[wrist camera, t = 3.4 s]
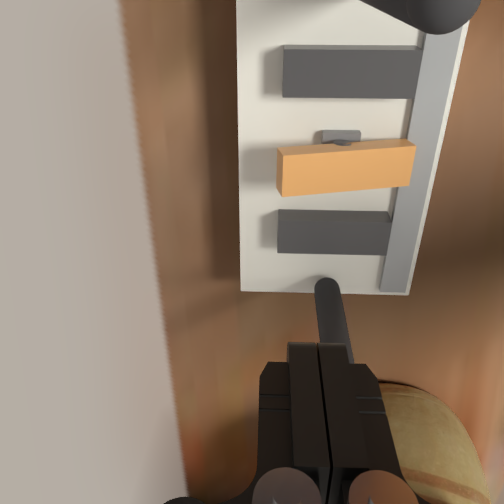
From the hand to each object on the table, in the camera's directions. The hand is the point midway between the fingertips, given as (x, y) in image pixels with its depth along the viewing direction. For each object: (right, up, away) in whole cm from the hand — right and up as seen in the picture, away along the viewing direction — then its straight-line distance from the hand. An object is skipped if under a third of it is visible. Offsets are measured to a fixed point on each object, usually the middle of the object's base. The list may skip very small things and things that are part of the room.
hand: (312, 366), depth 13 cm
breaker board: (+3, +10, +16) cm, 19 cm away
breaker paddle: (+3, +8, +12) cm, 15 cm away
